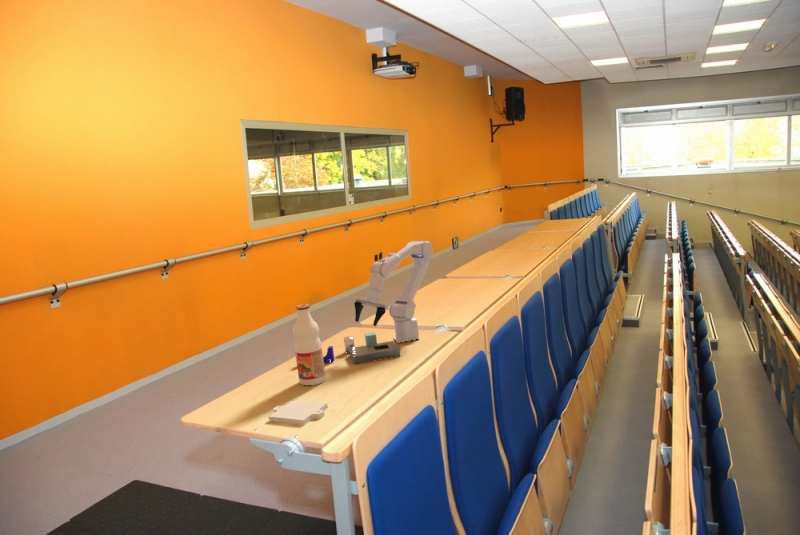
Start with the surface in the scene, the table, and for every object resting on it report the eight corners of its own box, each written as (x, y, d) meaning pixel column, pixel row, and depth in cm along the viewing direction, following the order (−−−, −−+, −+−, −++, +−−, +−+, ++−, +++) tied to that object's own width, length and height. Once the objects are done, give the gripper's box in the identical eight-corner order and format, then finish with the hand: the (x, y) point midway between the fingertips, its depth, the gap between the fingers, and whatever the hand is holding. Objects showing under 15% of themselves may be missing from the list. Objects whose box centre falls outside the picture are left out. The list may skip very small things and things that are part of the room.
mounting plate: (334, 409, 190) (333, 403, 190) (311, 427, 179) (310, 421, 178) (287, 405, 198) (287, 399, 198) (262, 421, 187) (261, 415, 186)
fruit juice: (328, 382, 214) (318, 305, 209) (302, 388, 211) (291, 310, 206) (323, 375, 223) (313, 300, 218) (297, 380, 220) (287, 305, 215)
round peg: (354, 349, 250) (352, 335, 249) (355, 352, 246) (354, 338, 245) (344, 351, 249) (343, 337, 248) (346, 354, 245) (344, 339, 244)
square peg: (375, 346, 252) (374, 332, 251) (377, 348, 248) (375, 334, 247) (366, 347, 251) (364, 333, 250) (368, 350, 247) (366, 336, 246)
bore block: (393, 348, 246) (392, 340, 246) (400, 356, 235) (399, 348, 234) (349, 355, 243) (348, 348, 242) (354, 364, 231) (353, 356, 231)
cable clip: (302, 366, 236) (300, 351, 235) (304, 362, 240) (302, 348, 239) (332, 364, 235) (330, 349, 234) (334, 360, 239) (332, 346, 238)
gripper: (355, 284, 241) (345, 317, 238) (389, 292, 237) (380, 325, 234) (360, 288, 248) (351, 321, 245) (393, 296, 244) (384, 328, 241)
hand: (365, 323), depth 240 cm, fingers open, 7 cm apart
